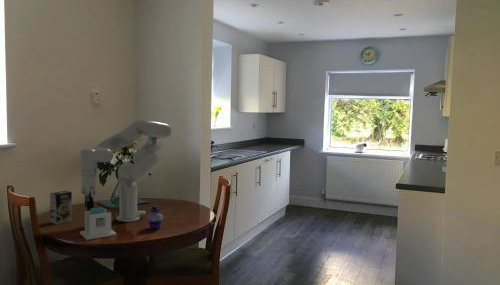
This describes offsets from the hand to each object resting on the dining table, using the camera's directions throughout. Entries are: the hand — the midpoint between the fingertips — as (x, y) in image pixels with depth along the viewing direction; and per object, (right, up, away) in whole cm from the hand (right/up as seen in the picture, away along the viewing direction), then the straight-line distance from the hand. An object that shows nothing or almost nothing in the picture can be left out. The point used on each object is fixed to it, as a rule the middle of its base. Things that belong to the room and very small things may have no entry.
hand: (89, 207), depth 210 cm
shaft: (+5, -5, -7) cm, 10 cm away
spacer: (+9, -3, -12) cm, 15 cm away
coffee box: (-19, -9, +9) cm, 23 cm away
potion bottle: (+34, -11, 0) cm, 36 cm away
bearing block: (+9, -11, -12) cm, 18 cm away
